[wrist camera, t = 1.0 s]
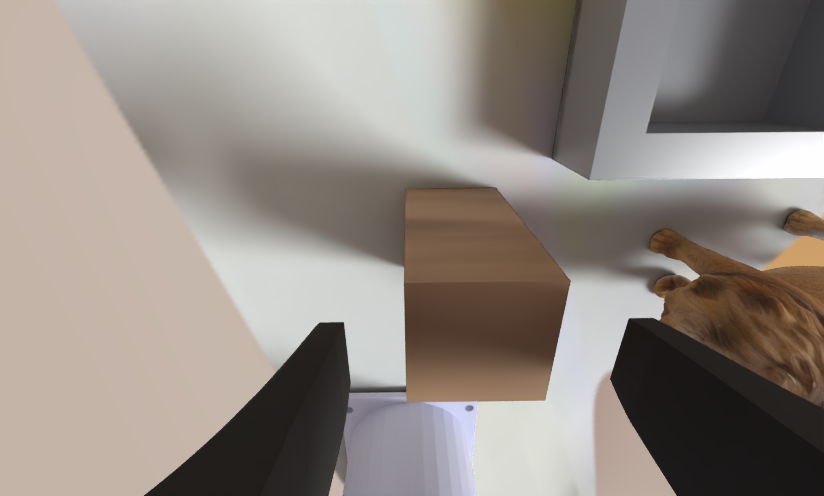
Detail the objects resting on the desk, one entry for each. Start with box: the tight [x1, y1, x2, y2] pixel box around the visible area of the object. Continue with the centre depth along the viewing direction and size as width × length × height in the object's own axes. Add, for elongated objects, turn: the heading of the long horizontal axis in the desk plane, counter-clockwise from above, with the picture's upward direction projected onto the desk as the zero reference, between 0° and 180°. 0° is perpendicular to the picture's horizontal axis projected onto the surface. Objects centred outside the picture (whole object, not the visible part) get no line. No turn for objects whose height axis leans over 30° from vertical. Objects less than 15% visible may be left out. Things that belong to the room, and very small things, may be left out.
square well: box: [552, 0, 824, 180], centre depth 12 cm, size 10×10×4 cm
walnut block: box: [404, 188, 571, 402], centre depth 13 cm, size 4×4×8 cm
